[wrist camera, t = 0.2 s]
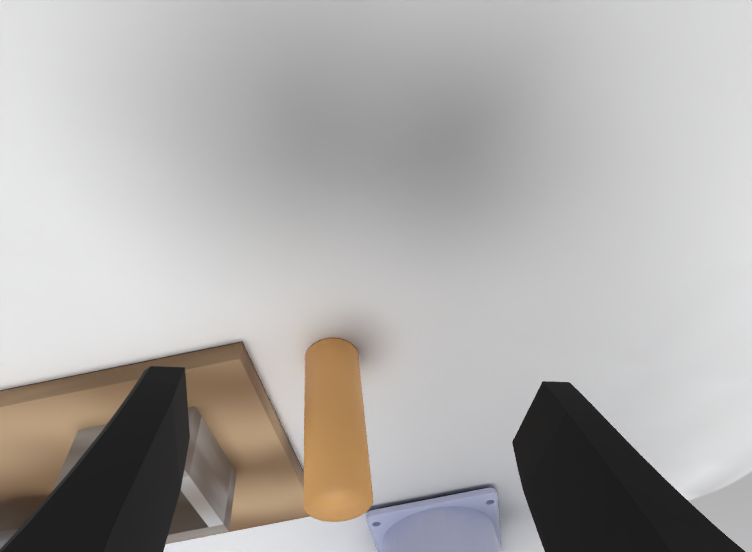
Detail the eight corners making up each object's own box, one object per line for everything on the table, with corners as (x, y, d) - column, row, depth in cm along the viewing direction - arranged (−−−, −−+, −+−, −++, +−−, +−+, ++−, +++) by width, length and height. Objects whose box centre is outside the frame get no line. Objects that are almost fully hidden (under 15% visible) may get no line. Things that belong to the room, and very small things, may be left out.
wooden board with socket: (315, 498, 30) (316, 624, 25) (35, 552, 31) (-22, 688, 25) (242, 342, 22) (221, 478, 17) (-134, 418, 23) (-265, 573, 18)
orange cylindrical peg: (362, 370, 24) (378, 514, 19) (312, 380, 24) (313, 526, 19) (352, 333, 23) (366, 477, 17) (299, 344, 23) (295, 491, 17)
